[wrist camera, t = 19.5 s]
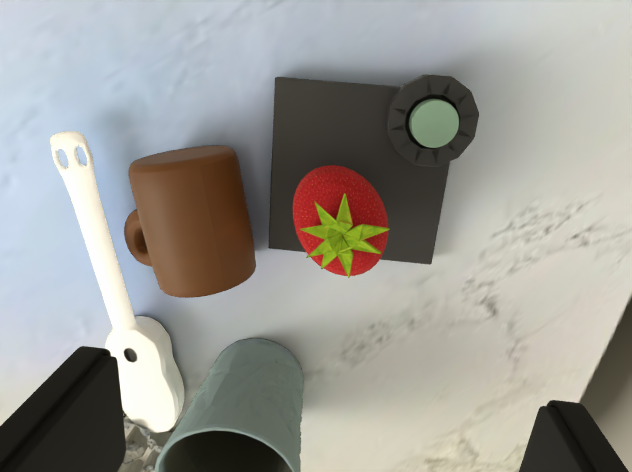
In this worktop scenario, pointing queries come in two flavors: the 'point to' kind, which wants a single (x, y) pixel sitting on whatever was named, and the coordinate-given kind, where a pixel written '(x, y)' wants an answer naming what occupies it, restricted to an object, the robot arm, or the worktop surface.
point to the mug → (191, 220)
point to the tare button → (434, 123)
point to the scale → (367, 153)
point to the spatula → (122, 305)
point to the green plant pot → (242, 415)
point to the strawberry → (340, 220)
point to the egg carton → (142, 447)
